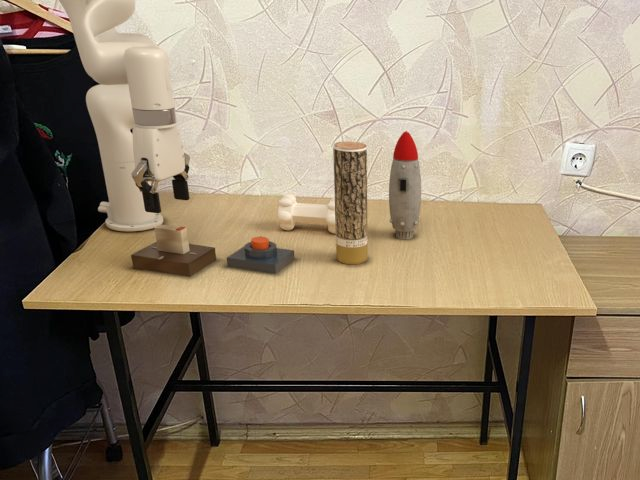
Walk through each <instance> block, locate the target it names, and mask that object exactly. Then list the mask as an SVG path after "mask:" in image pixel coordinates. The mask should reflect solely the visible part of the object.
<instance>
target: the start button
mask: <svg viewBox="0 0 640 480" xmlns="http://www.w3.org/2000/svg"><path fill="white" fill-rule="evenodd" d="M269 241H270V239H269V238H268V237H266V236H255V237H252V238H251V239H250V242H251V246H252V248H253V249H267V248H269Z"/></svg>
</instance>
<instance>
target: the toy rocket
mask: <svg viewBox="0 0 640 480" xmlns="http://www.w3.org/2000/svg"><path fill="white" fill-rule="evenodd" d="M392 155H393V156H392V161H391V166H390V172H389V182H388V183H389V185H388V207H389V216H390V219H389V223H390V224H391V225H392V230H394V231H395V237H396V238H397V239H400V240H410V239H412V238H413V237H414V234H415V233H414V232H415V231H416V230H417V228H418V224H419V220H420V216H421V215H420V214H421V205H422V176H421V175H422V173H421V167H420V161H419V153H418V147H417V146H416V143H415V141H414V138H413V137H412V135H411V133H410V132H408V131H407V130H406V131H403V132H402V133H401V135H400V136H399V138H398V140H397V142H396V144H395V146H394V150H393V153H392Z"/></svg>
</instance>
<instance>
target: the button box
mask: <svg viewBox="0 0 640 480" xmlns="http://www.w3.org/2000/svg"><path fill="white" fill-rule="evenodd" d="M295 260H296V259H295V250H294V249H287V248H279V247H277V244H276V243H275V242H273V241H270V240H269V248H267V249H253V248H252V246H251V241H249V242H247V243H245V244H244V245H243V246H242V247H240V248H239V249H237V250H236V251H234V252H233V253H231V254H229V255H228V256H227V257H226V264H227V268H232V269H233V268H234V269H238V270H245V271H251V272H260V273H265V274H271V275H277V274H279V272H281V271H282V270H283V269H285V268H286V267H287V266H288V265H290V264H291V263H292V262H294V261H295Z"/></svg>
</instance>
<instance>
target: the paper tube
mask: <svg viewBox="0 0 640 480" xmlns="http://www.w3.org/2000/svg"><path fill="white" fill-rule="evenodd" d="M332 151H333V152H332V155H333V156H332V157H333V184H334V185H333V188H334V189H333V190H334V191H333V192H334V197H335V225H336V234H335V251H336V256H335V257H336V260H337V261H338V262H339V263H341V264H344V265H350V266H351V265H360V264H364V263H365V262H366V261H367V260H368V147H367V144H365V143H363V142H358V141H339V142H335V143H333V147H332Z"/></svg>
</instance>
